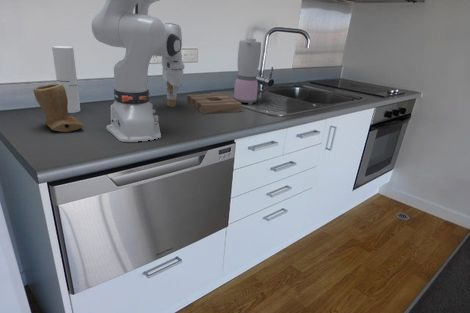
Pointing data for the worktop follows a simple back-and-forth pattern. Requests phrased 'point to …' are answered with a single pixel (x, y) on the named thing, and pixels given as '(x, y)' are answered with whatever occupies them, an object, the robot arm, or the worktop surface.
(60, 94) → the tan boot vase
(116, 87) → the robot arm
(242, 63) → the blender
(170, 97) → the sprinkles bottle
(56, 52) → the cylindrical container
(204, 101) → the socket block
